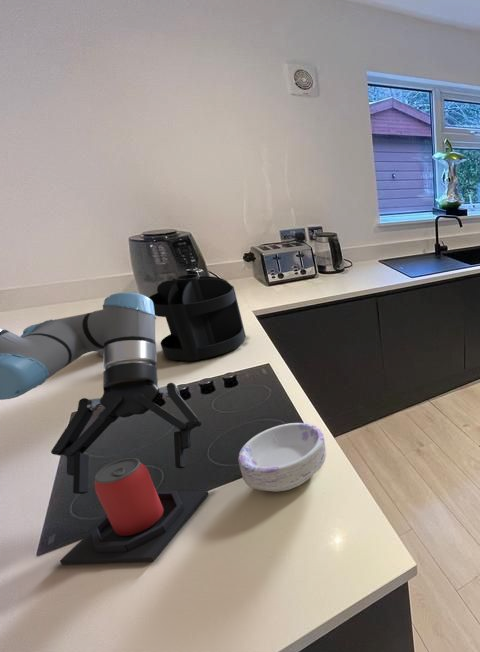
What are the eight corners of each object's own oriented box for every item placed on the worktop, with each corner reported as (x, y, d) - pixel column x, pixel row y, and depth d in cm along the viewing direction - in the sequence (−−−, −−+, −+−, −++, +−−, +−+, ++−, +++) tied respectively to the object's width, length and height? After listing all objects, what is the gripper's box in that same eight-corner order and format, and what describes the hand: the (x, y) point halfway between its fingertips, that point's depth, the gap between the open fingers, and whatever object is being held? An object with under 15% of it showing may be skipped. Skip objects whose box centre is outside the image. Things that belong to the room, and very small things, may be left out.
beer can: (123, 545, 66) (96, 490, 62) (109, 526, 70) (84, 472, 65) (171, 518, 71) (150, 465, 67) (156, 501, 75) (135, 450, 70)
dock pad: (61, 565, 64) (55, 554, 63) (133, 496, 77) (128, 486, 76) (153, 561, 65) (148, 551, 64) (208, 494, 78) (205, 484, 77)
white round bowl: (343, 456, 89) (338, 427, 86) (294, 510, 75) (286, 478, 72) (285, 444, 92) (278, 416, 89) (227, 494, 78) (217, 462, 75)
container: (255, 348, 136) (238, 277, 127) (170, 370, 121) (144, 292, 112) (238, 329, 151) (222, 264, 141) (160, 346, 136) (136, 275, 126)
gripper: (214, 361, 86) (222, 460, 79) (53, 388, 75) (47, 505, 68) (203, 349, 80) (212, 455, 73) (26, 376, 69) (17, 504, 62)
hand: (132, 479), depth 71 cm, fingers open, 13 cm apart
